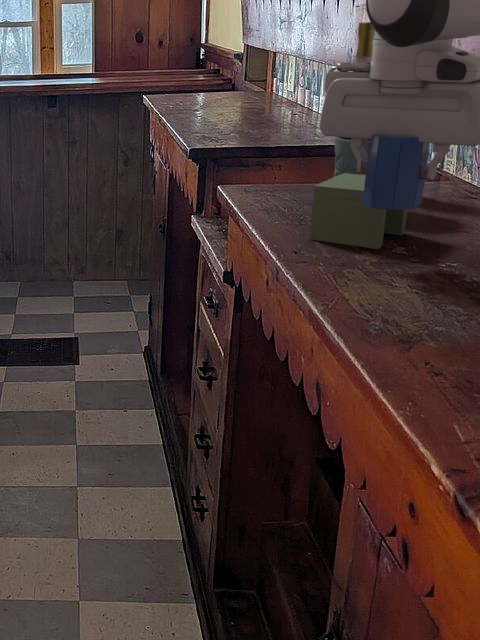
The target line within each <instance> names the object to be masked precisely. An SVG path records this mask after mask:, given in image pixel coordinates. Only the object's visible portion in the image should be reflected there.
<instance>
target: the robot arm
mask: <svg viewBox="0 0 480 640" xmlns="http://www.w3.org/2000/svg"><path fill="white" fill-rule="evenodd" d="M365 10H366V13H367V17H368V20H369V22H371V24H372V26H373V28H374V29H375V35H374V40H373V51H372V59H371V63H355V62H354V63H351V62H347V61H344V62H339V63H337V65H335V66H333V67H331V68H330V69H329V70H328V71H327V73H326V75H325V81H324V93H325V97H324V100H323V104H322V108H321V114H320V120H319V130H320V132H321V133H322V135H323V136H324V137H331V138H333V137H334V138H335V137H346V138H351V144H350V147H351V149H352V151H353V153H354V155H355V157H356V159H357V160H358V161H357V173H362V174H366V167H367V159H368V157H367V154H366V152H365V149H364V147H363V146H364V145H366V144H367V141H368V139H371V138H372V134H376V135H379V136H384V137H399V138H405V137H418V138H419V142H421V143H430V144H432V150H431V152H432V153H435V155H434V156H433V158H432V159H431V160H430V161H429V162H427V163H425V164H423V165H421V170H420V172H421V173H420V179H425V181H426V180H427V181H433V180H435V179H436V177H437V171H438V165H439V164H440V163H441V162H442V161H443V159H444V158H445V157H446V155H447V154H448V153H449V152H450V151H451V150H450V149H451V146H465V147H466V146H467V147H477V146H479V145H480V54H477V53H474V52H470V51H467V50H465V49H461V48H458V47H455V46H454V45H453V43H454V39H455V40H456V39H466V38H470V37H480V0H365ZM336 70H337V71H336ZM353 71H356V72H353Z"/></svg>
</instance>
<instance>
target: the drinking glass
mask: <svg viewBox="0 0 480 640" xmlns="http://www.w3.org/2000/svg"><path fill="white" fill-rule="evenodd" d="M369 141H370V139H368V141H367V144H366V145H364V146H363V147H364V149H365V152H366V154H367V157H368V150H369ZM350 144H351V138H346V137H334V157H335V158H334V175H333V177H334V176H335V177H336V176H338V175H341V174H343V173H347V174H358V175H366V174H362V173H357V161H358V160H357V159H356V157H355V155H354V153H353V151H352V149H351V147H350Z"/></svg>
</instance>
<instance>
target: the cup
mask: <svg viewBox="0 0 480 640" xmlns="http://www.w3.org/2000/svg"><path fill="white" fill-rule="evenodd" d="M430 148H431V143H421V142H419V138H418V137H405V138H399V137H384V136H379V135H376V134H372V138H371V139H370V141H369V150H368V159H367V167H366V176H365V185H364V194H363V203H364V204H365V205H367V206H369V207H372V208H379V209H387V210H403V209H408V210H414V209H416V208H418V207H420V206H421V205H422V202H423V195H424V188H425V182H426V179H420V173H421V172H420V170H421V165H423V164H425V163H428V161H429V154H430Z"/></svg>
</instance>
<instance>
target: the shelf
mask: <svg viewBox="0 0 480 640" xmlns="http://www.w3.org/2000/svg"><path fill="white" fill-rule="evenodd" d="M365 176H366V175H358V174H347V173H343V174H341V175H338V176H336V177H334V176H333V177H334V178H333V177H332V178H328V179H327V180H325V181H322V182H320V183H317V184H315V185H314V187H313V197H312V198H313V199H312V210H311V222H310V233H309V240H311V241H319V242H324V243H325V242H326V243H333V244H338V245H346V246H352V247H353V246H354V247H360V248H367V249H373V250H380V249H381V248H382V247H383V243H384V235H385V234H386V235H394V236H395V235H396V236H403V235H404V234H405V233H406V225H407V219H408V218H407V217H408V210H409V209H403V210H387V209H379V208H372V207H369V206H367V205H365V204H364V203H363V194H364V185H365Z"/></svg>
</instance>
